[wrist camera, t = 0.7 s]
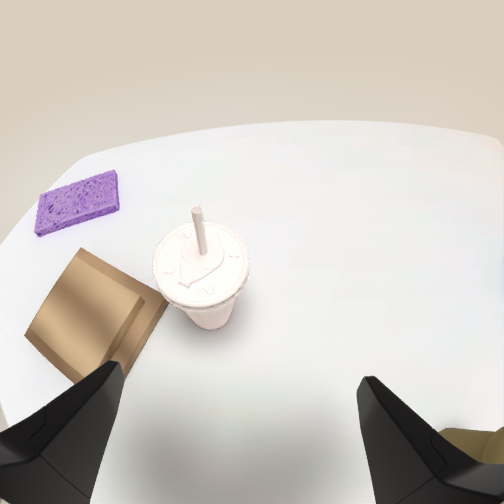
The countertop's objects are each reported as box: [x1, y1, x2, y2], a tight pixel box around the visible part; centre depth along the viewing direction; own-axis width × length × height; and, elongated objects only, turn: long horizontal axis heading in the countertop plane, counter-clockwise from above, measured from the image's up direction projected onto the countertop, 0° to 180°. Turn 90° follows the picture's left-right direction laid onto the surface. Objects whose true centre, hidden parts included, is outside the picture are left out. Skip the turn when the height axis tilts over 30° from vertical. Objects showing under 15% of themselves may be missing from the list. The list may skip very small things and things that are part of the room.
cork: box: [439, 427, 504, 464], centre depth 13 cm, size 6×6×11 cm
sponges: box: [34, 170, 119, 237], centre depth 32 cm, size 7×13×2 cm, turn 109°
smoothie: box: [152, 205, 249, 330], centre depth 20 cm, size 6×6×14 cm
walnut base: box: [24, 248, 169, 384], centre depth 23 cm, size 12×12×3 cm
